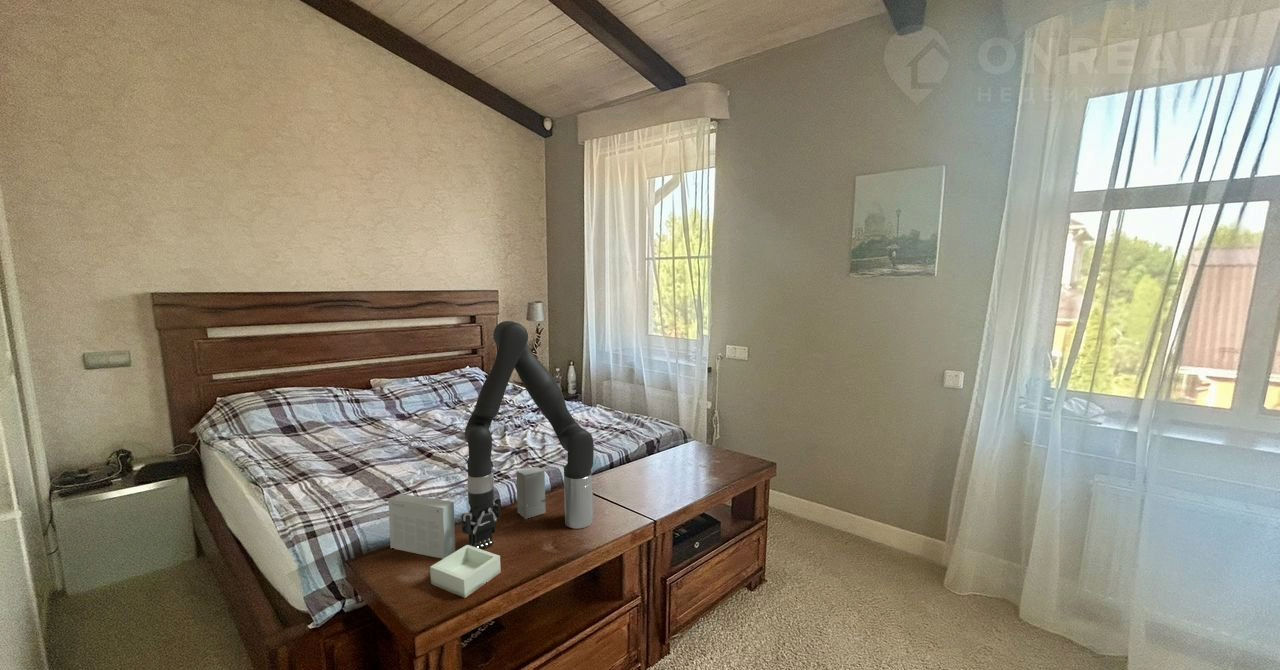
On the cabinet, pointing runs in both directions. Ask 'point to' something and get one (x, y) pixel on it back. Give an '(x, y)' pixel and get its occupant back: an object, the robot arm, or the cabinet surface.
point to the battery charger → (484, 531)
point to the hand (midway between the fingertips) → (483, 538)
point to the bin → (465, 570)
